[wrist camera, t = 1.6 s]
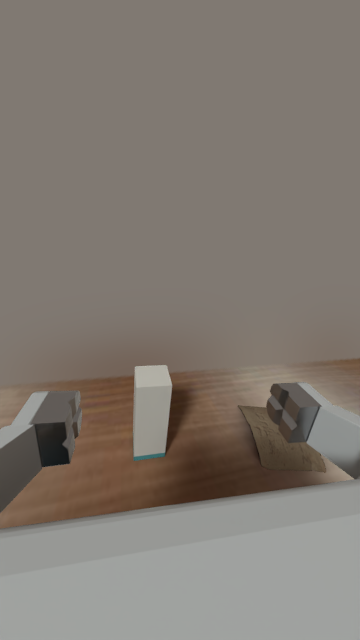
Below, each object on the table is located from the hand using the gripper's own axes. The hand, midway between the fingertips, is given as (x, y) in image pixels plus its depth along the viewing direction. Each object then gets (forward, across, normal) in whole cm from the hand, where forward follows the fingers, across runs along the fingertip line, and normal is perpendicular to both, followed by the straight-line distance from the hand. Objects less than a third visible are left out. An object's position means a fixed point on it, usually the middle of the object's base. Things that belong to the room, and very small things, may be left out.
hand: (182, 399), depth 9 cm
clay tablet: (+18, +22, -25) cm, 38 cm away
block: (+18, 0, -24) cm, 30 cm away
